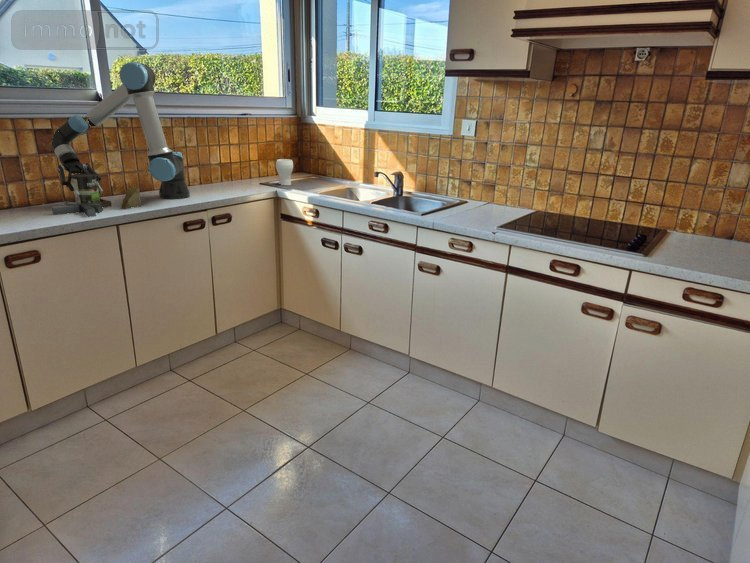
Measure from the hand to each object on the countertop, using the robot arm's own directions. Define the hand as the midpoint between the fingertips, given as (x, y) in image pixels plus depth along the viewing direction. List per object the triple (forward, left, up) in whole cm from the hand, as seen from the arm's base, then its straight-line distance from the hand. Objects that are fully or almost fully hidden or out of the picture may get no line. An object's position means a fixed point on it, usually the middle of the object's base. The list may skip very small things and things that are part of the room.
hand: (90, 194), depth 230 cm
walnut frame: (+3, -2, -6) cm, 7 cm away
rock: (-16, -5, -6) cm, 18 cm away
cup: (-68, -90, -6) cm, 113 cm away
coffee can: (+3, -2, -6) cm, 6 cm away
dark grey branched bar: (-2, +13, -6) cm, 14 cm away
